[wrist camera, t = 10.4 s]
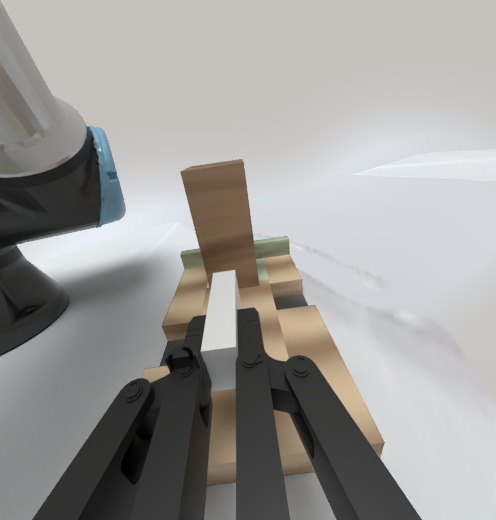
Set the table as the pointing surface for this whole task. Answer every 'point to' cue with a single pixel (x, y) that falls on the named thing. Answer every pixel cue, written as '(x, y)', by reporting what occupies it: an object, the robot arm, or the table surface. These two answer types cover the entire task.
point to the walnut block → (222, 219)
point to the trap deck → (276, 346)
